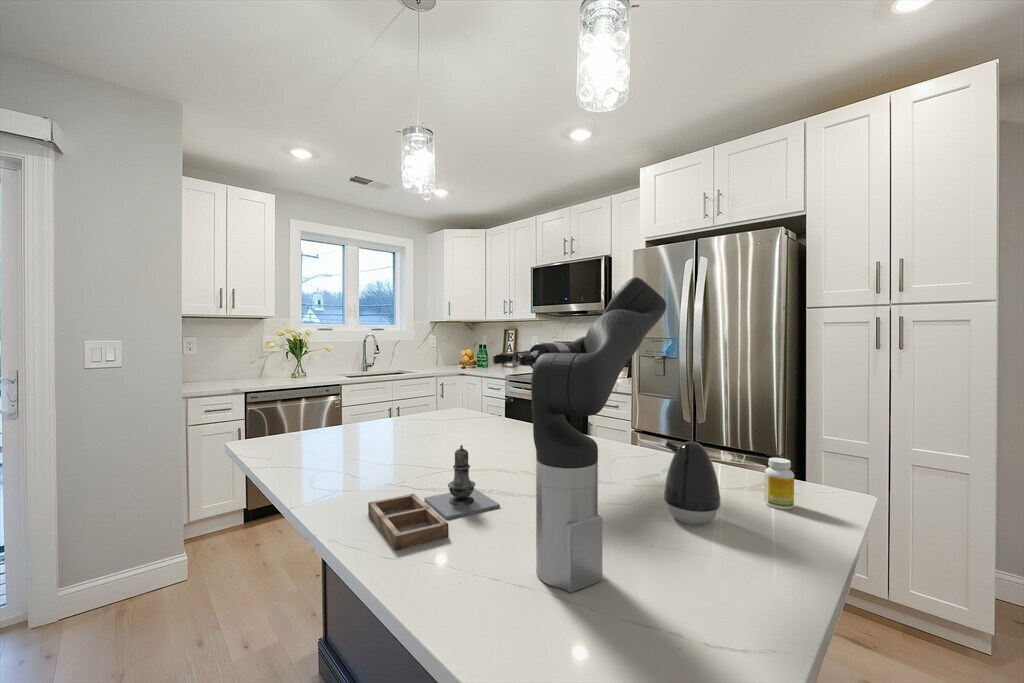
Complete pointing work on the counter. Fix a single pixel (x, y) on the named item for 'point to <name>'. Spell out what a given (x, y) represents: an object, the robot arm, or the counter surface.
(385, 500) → the spice caddy
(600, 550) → the robot arm
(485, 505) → the slate tile
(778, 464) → the supplement bottle
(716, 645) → the counter surface
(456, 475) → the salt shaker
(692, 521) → the pump dispenser
